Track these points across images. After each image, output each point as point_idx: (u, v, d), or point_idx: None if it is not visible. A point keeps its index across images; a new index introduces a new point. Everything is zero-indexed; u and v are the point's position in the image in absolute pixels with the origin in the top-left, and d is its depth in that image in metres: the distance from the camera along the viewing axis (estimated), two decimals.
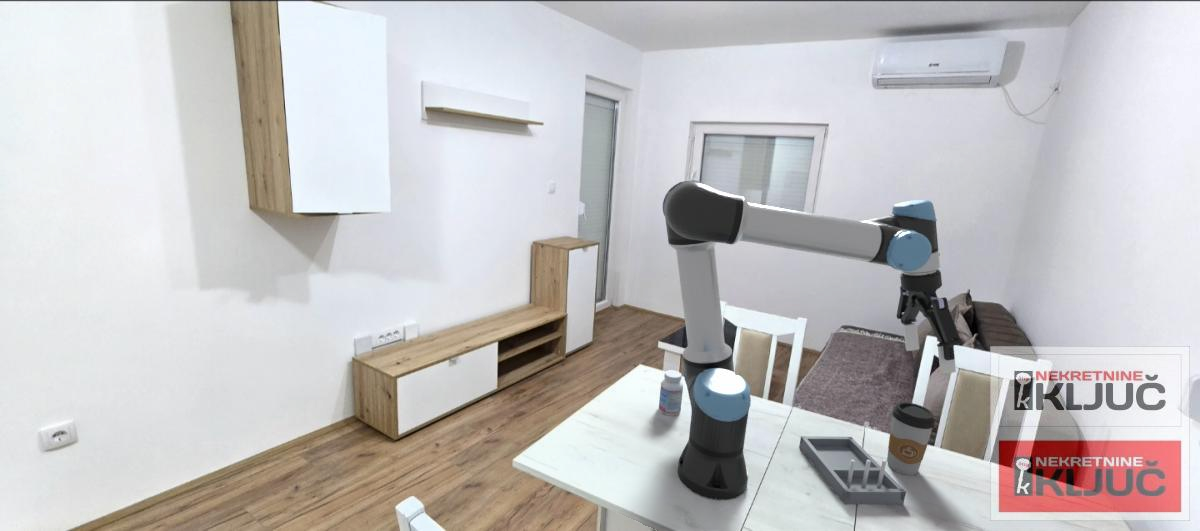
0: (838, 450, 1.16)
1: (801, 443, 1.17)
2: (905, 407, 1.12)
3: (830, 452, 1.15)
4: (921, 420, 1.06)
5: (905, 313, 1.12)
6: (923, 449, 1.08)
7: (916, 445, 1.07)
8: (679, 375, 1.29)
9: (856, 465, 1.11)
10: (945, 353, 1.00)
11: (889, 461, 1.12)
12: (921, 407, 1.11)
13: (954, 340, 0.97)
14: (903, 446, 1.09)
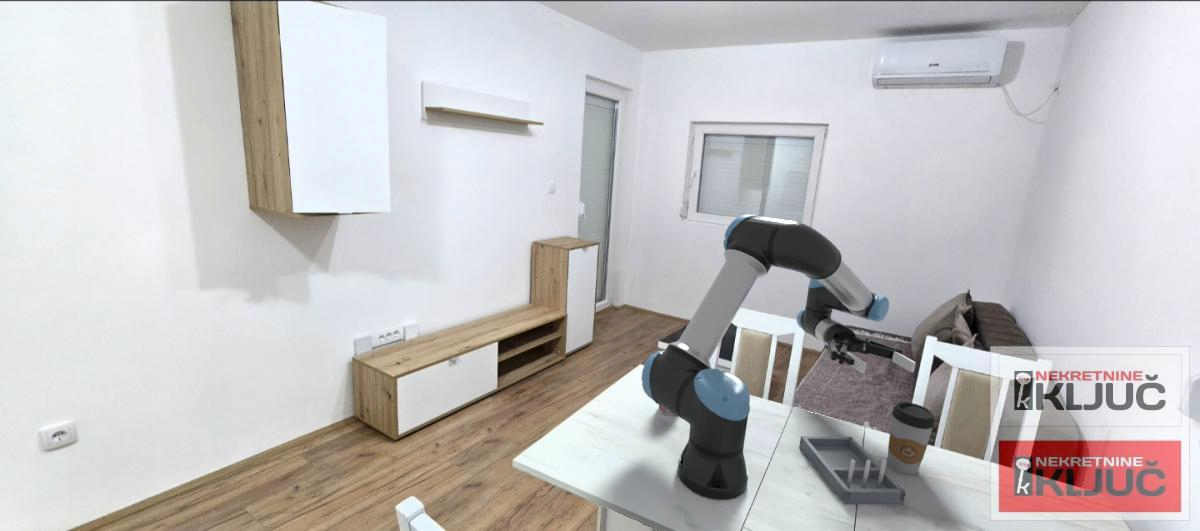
0: (838, 450, 1.16)
1: (801, 443, 1.17)
2: (905, 407, 1.12)
3: (830, 452, 1.15)
4: (921, 420, 1.06)
5: (843, 347, 1.25)
6: (923, 449, 1.08)
7: (916, 445, 1.07)
8: None
9: (856, 465, 1.11)
10: None
11: (889, 461, 1.12)
12: (921, 407, 1.11)
13: None
14: (903, 446, 1.09)
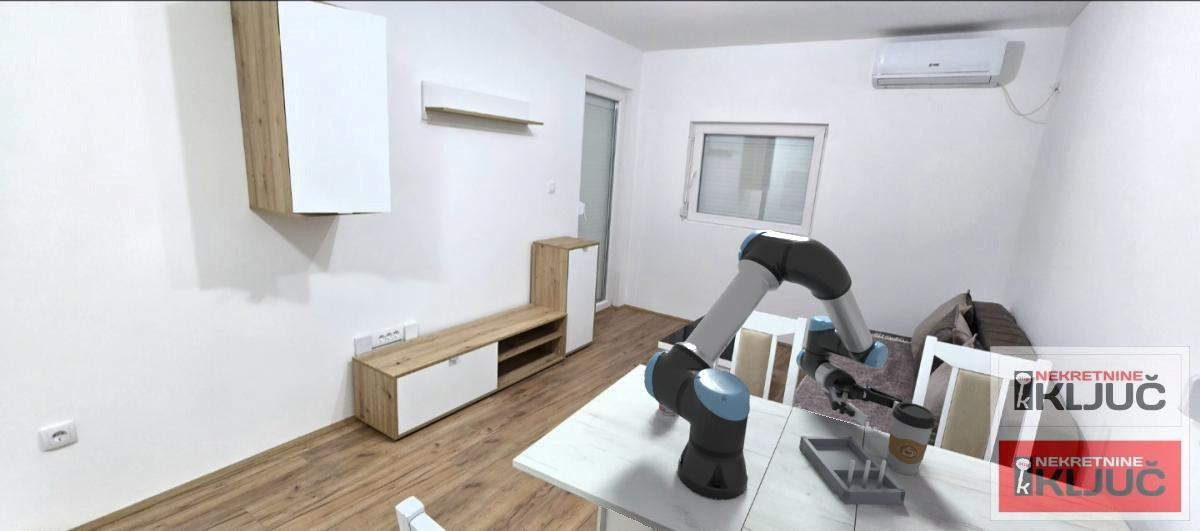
0: (838, 450, 1.16)
1: (801, 443, 1.17)
2: (905, 407, 1.12)
3: (830, 452, 1.15)
4: (921, 420, 1.06)
5: (844, 396, 1.25)
6: (923, 449, 1.08)
7: (916, 445, 1.07)
8: None
9: (856, 465, 1.11)
10: None
11: (889, 461, 1.12)
12: (921, 407, 1.11)
13: None
14: (903, 446, 1.09)
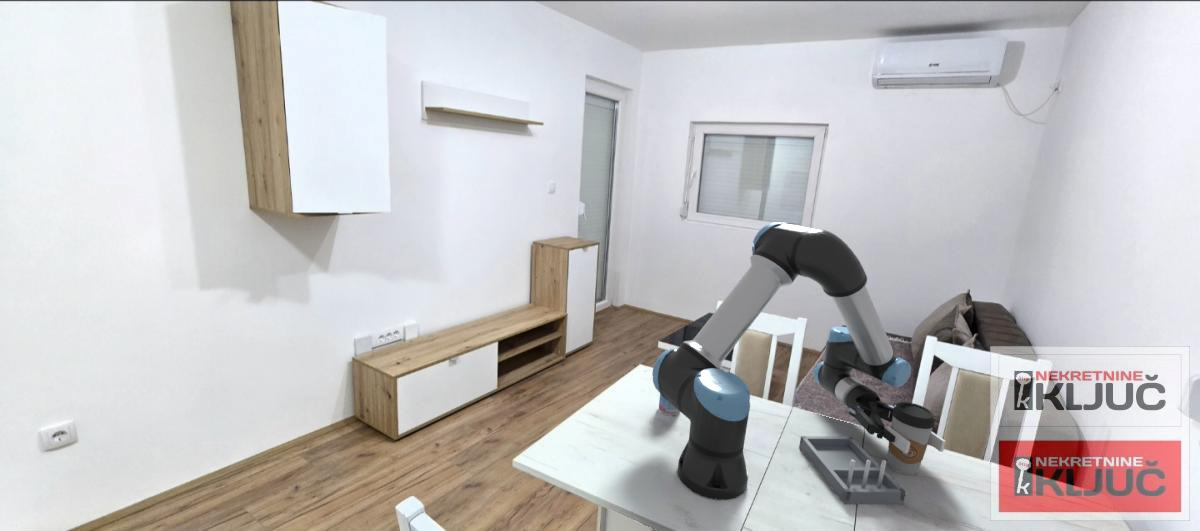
0: (838, 450, 1.16)
1: (801, 443, 1.17)
2: (905, 407, 1.12)
3: (830, 452, 1.15)
4: (921, 420, 1.06)
5: (877, 418, 1.15)
6: (923, 449, 1.08)
7: (916, 445, 1.07)
8: None
9: (856, 465, 1.11)
10: None
11: (889, 461, 1.12)
12: (921, 407, 1.11)
13: None
14: None
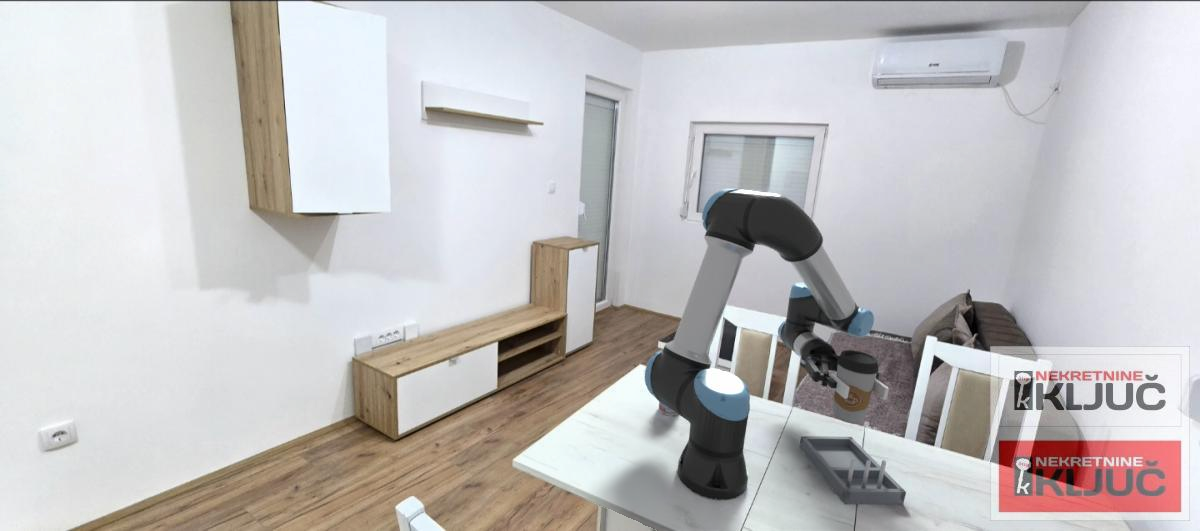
0: (838, 450, 1.16)
1: (801, 443, 1.17)
2: (851, 355, 1.09)
3: (830, 452, 1.15)
4: (862, 365, 1.03)
5: (824, 367, 1.13)
6: (866, 396, 1.05)
7: (858, 391, 1.04)
8: None
9: (856, 465, 1.11)
10: None
11: (834, 410, 1.10)
12: (867, 355, 1.08)
13: None
14: None
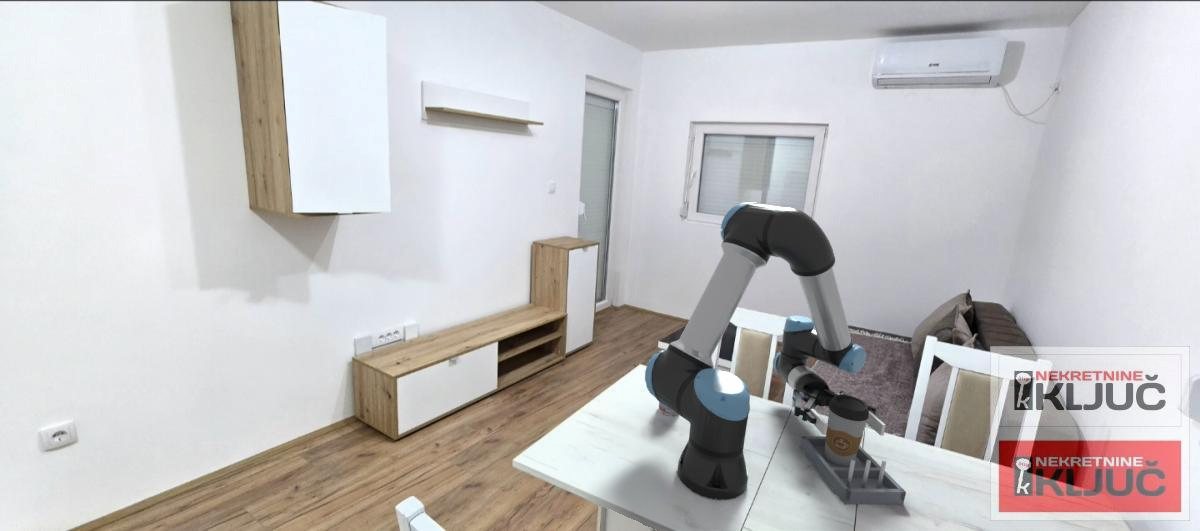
0: None
1: (801, 443, 1.17)
2: (842, 399, 1.11)
3: None
4: (853, 413, 1.06)
5: (809, 402, 1.16)
6: (856, 442, 1.07)
7: (848, 437, 1.07)
8: None
9: (856, 465, 1.11)
10: None
11: (825, 453, 1.13)
12: (858, 400, 1.10)
13: None
14: (836, 437, 1.09)
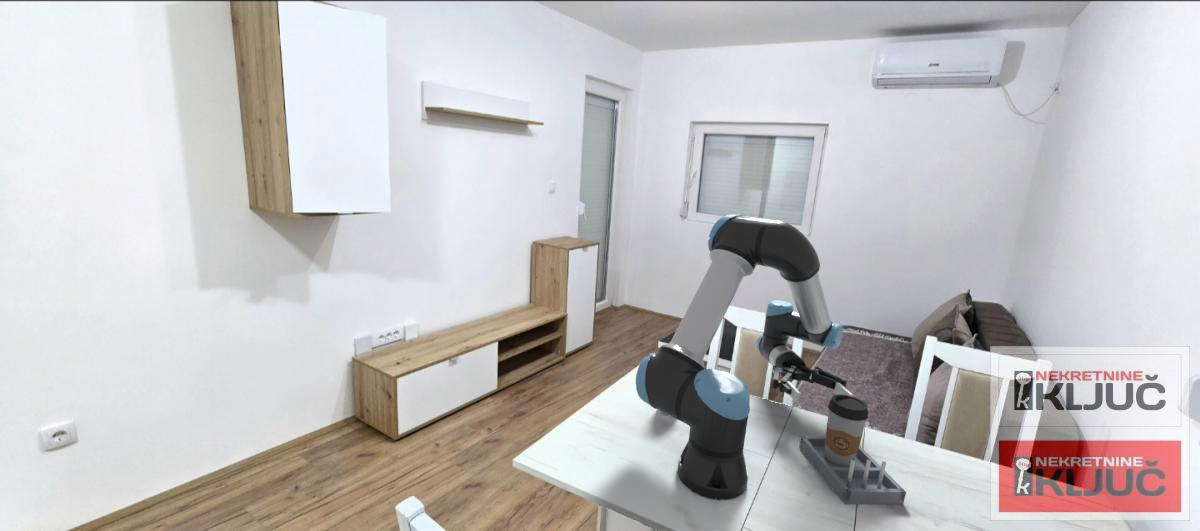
0: None
1: (801, 443, 1.17)
2: (842, 399, 1.12)
3: None
4: (852, 412, 1.06)
5: (786, 376, 1.28)
6: (856, 441, 1.08)
7: (848, 436, 1.07)
8: None
9: (856, 465, 1.11)
10: None
11: (825, 453, 1.13)
12: (858, 400, 1.10)
13: None
14: (836, 437, 1.09)
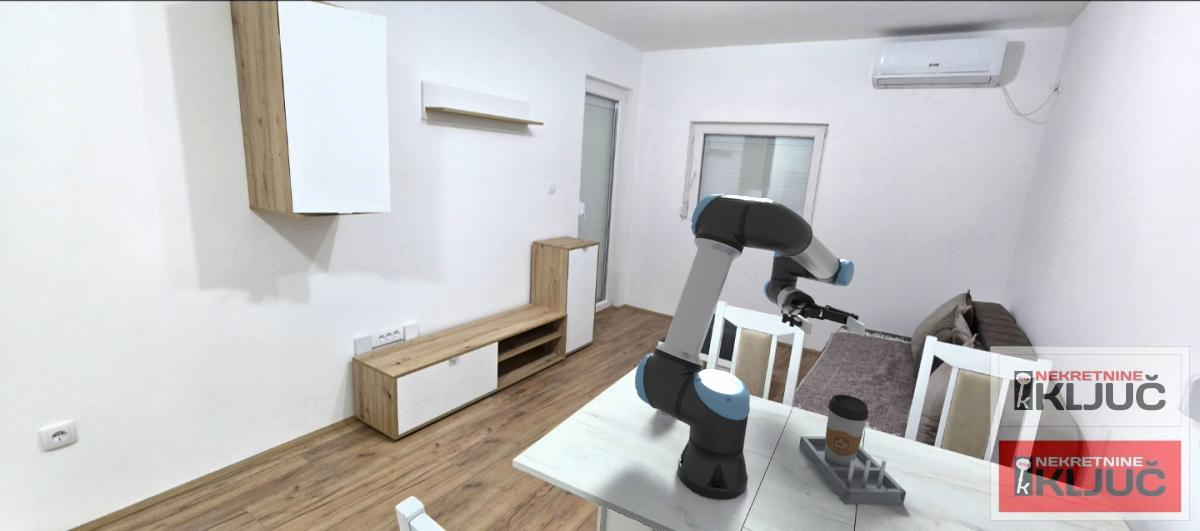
0: None
1: (801, 443, 1.17)
2: (842, 399, 1.12)
3: None
4: (852, 412, 1.06)
5: (796, 311, 1.24)
6: (856, 441, 1.07)
7: (848, 436, 1.07)
8: None
9: (856, 465, 1.11)
10: None
11: (825, 453, 1.13)
12: (858, 400, 1.10)
13: None
14: (836, 437, 1.09)
